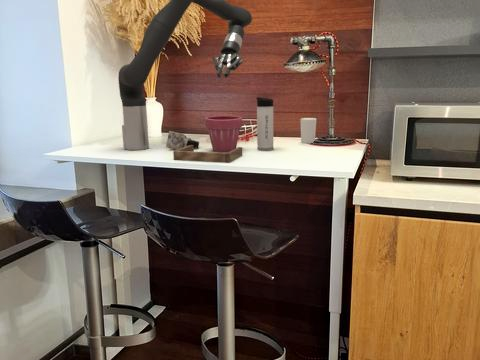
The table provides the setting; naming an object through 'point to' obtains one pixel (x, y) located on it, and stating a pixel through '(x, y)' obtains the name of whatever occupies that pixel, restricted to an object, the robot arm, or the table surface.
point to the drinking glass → (308, 130)
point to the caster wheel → (179, 141)
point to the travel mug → (264, 124)
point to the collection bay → (206, 155)
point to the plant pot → (223, 132)
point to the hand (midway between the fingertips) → (222, 76)
